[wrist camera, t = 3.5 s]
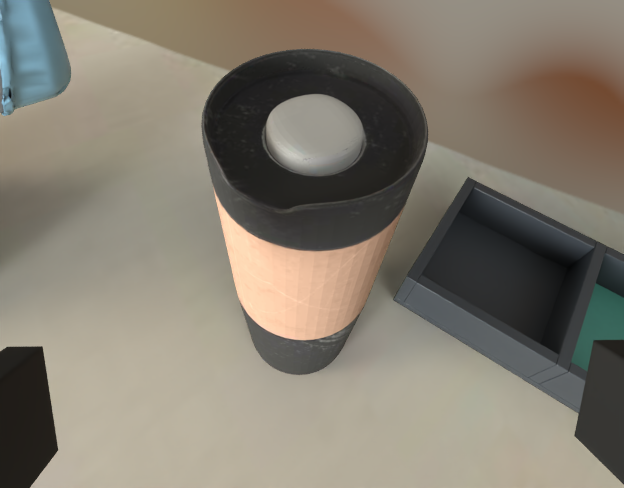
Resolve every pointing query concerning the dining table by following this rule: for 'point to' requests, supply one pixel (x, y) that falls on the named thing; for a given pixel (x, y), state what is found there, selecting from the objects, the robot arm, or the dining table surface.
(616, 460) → the robot arm
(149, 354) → the dining table surface
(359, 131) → the travel mug
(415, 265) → the divided organizer tray
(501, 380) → the dining table surface
